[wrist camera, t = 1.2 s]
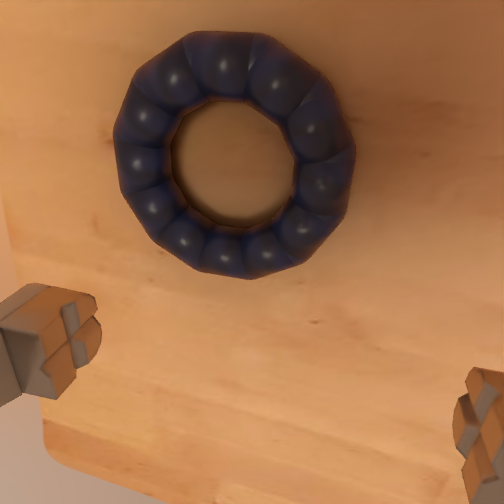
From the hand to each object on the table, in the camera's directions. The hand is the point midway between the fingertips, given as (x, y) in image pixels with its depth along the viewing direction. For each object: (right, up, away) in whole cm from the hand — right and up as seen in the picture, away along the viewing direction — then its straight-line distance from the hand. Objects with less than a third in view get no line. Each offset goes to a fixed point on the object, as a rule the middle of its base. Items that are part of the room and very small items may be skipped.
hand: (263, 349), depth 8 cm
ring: (-2, +6, +12) cm, 14 cm away
